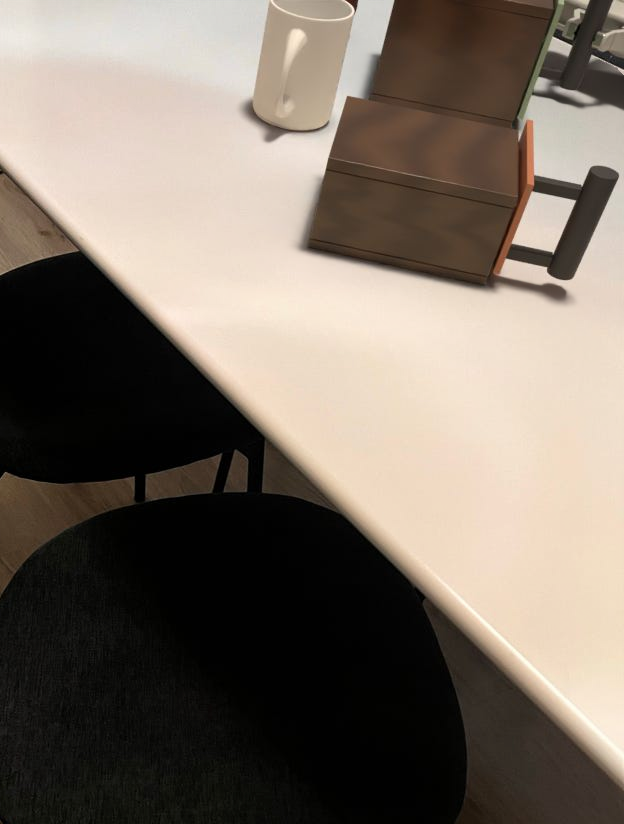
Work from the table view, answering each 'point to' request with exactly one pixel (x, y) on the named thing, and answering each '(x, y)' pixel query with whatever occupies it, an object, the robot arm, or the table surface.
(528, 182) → the orange drawer
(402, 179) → the cubby low
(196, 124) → the table surface
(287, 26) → the mug
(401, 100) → the wooden drawer cabinet
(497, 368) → the table surface
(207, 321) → the table surface
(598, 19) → the green drawer
